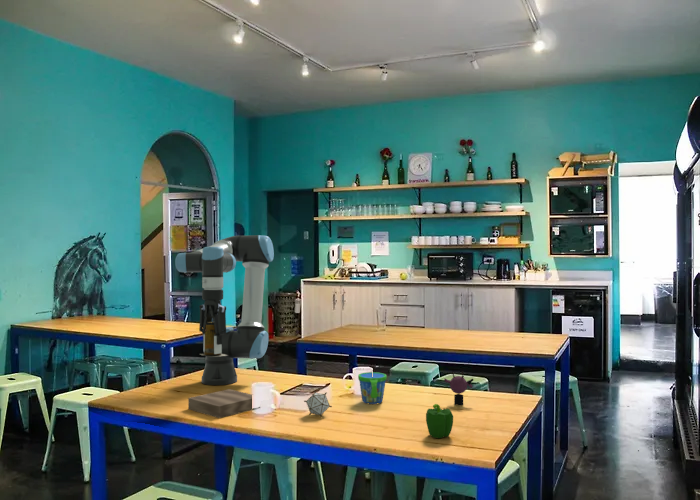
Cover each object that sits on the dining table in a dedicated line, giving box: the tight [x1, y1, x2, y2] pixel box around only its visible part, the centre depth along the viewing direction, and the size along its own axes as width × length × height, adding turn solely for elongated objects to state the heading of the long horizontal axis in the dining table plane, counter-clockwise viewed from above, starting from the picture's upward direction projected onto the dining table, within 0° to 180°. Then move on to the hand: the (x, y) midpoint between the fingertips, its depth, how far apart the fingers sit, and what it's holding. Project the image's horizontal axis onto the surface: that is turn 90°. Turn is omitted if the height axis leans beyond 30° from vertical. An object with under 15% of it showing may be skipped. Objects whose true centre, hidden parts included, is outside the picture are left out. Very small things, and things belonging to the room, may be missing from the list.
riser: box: [187, 388, 253, 419], centre depth 212 cm, size 18×18×4 cm
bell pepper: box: [425, 403, 454, 439], centre depth 179 cm, size 8×8×10 cm
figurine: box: [443, 371, 474, 406], centre depth 217 cm, size 8×8×12 cm
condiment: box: [199, 321, 227, 357], centre depth 215 cm, size 7×8×12 cm
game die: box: [303, 390, 333, 418], centre depth 202 cm, size 9×8×10 cm
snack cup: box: [357, 371, 387, 405], centre depth 220 cm, size 16×10×10 cm
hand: (212, 352), depth 215 cm, fingers closed on condiment, 6 cm apart
